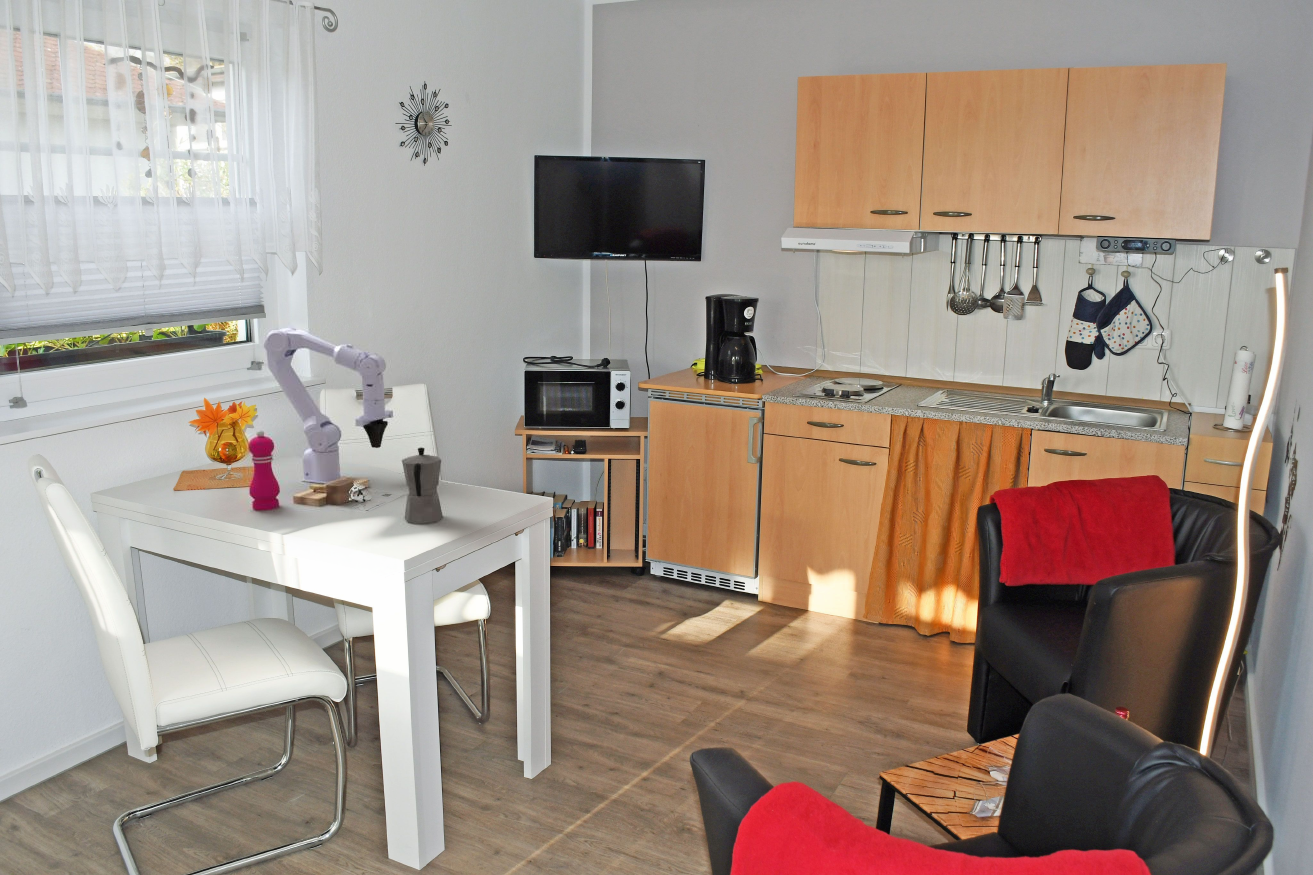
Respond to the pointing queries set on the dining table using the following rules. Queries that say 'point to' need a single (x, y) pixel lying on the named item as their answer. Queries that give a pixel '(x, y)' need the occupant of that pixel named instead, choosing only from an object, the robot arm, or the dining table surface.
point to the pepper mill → (263, 474)
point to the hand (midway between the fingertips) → (376, 447)
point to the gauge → (336, 491)
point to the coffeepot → (422, 488)
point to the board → (321, 493)
